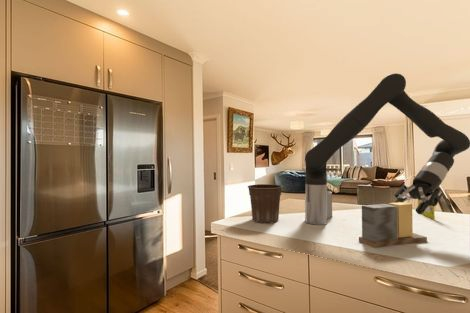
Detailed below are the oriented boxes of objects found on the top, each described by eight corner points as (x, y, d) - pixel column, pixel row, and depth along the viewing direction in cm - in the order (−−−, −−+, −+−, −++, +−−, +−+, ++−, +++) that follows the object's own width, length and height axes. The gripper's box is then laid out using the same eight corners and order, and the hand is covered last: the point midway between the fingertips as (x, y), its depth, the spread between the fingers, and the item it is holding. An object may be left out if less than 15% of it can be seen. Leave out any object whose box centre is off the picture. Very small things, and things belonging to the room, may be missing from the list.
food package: (435, 219, 119) (435, 176, 119) (433, 219, 119) (432, 176, 120) (419, 212, 134) (418, 174, 134) (416, 212, 134) (416, 174, 135)
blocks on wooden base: (374, 247, 82) (374, 208, 82) (358, 241, 89) (358, 205, 89) (426, 241, 88) (426, 204, 88) (408, 235, 95) (407, 201, 95)
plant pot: (276, 226, 109) (275, 188, 110) (242, 222, 117) (241, 186, 117) (287, 218, 124) (286, 185, 124) (256, 215, 131) (256, 183, 132)
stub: (398, 237, 87) (398, 205, 87) (388, 234, 91) (388, 203, 91) (412, 236, 89) (412, 204, 89) (402, 232, 92) (401, 202, 92)
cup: (335, 217, 125) (335, 192, 125) (317, 218, 124) (317, 193, 124) (327, 213, 134) (327, 190, 134) (310, 214, 133) (310, 191, 133)
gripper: (406, 169, 100) (383, 200, 97) (445, 170, 86) (419, 206, 83) (417, 182, 101) (394, 213, 98) (457, 185, 88) (432, 222, 84)
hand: (406, 210), depth 91 cm, fingers open, 8 cm apart
